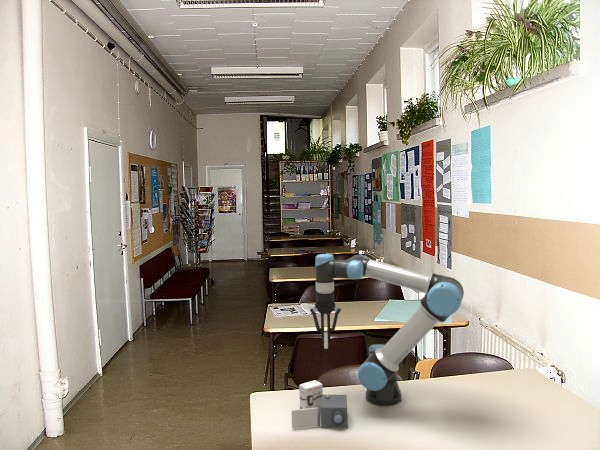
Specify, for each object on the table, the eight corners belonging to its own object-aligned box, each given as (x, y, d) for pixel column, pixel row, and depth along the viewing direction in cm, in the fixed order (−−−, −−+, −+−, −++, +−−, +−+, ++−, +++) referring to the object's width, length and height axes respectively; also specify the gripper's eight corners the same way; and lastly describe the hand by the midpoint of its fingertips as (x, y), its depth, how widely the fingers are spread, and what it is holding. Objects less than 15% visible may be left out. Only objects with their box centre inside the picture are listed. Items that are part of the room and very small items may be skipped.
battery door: (291, 427, 192) (291, 409, 191) (319, 424, 194) (319, 407, 193) (292, 429, 191) (291, 411, 190) (320, 426, 193) (320, 408, 192)
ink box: (306, 417, 202) (305, 388, 201) (299, 412, 206) (298, 384, 205) (323, 411, 206) (323, 383, 205) (316, 407, 210) (316, 379, 210)
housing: (346, 414, 203) (346, 392, 203) (347, 430, 190) (347, 408, 189) (321, 413, 204) (321, 392, 203) (320, 430, 190) (320, 407, 190)
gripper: (340, 289, 213) (341, 344, 214) (309, 289, 213) (310, 344, 215) (340, 293, 205) (341, 350, 207) (308, 293, 206) (310, 350, 208)
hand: (326, 347), depth 211 cm, fingers closed
